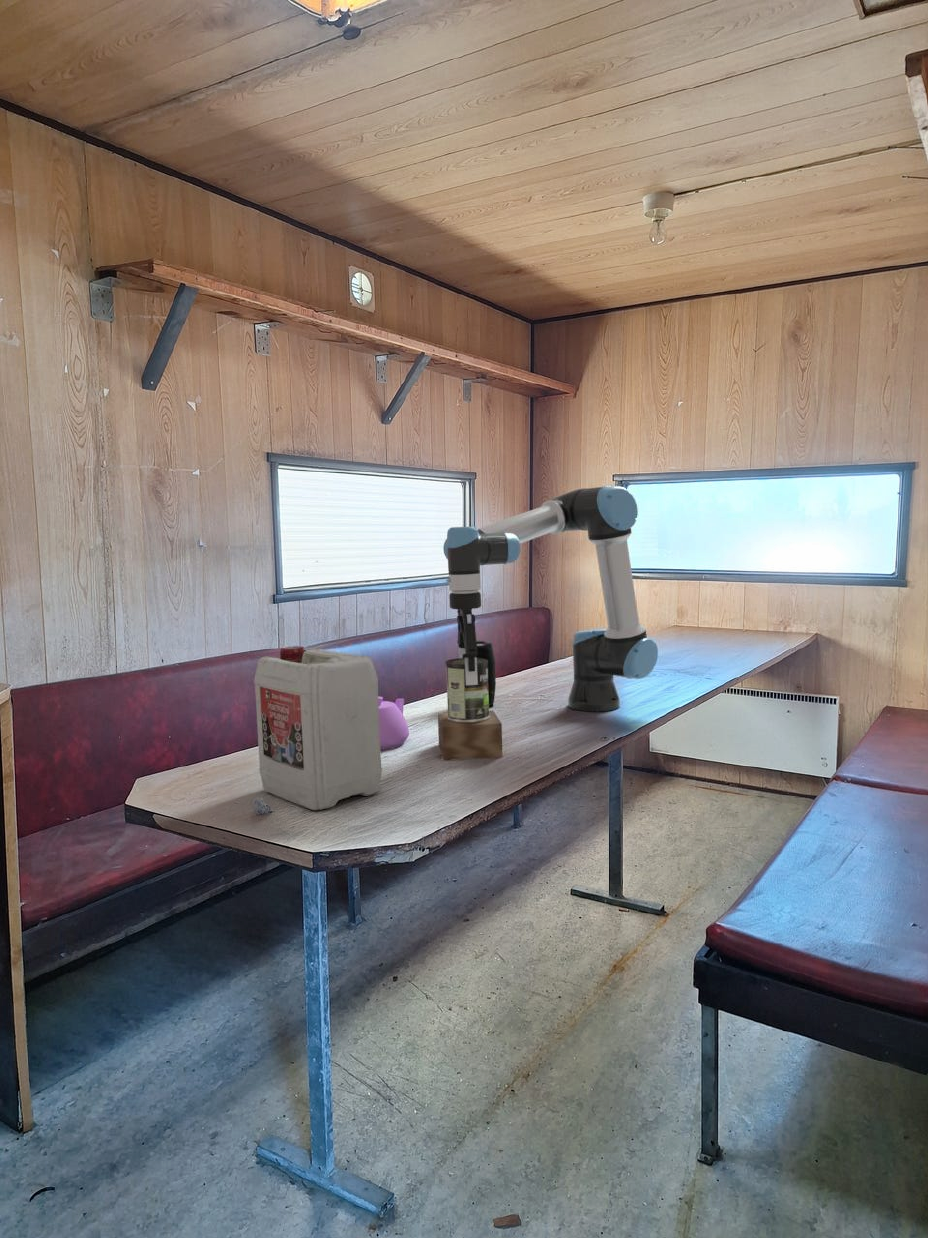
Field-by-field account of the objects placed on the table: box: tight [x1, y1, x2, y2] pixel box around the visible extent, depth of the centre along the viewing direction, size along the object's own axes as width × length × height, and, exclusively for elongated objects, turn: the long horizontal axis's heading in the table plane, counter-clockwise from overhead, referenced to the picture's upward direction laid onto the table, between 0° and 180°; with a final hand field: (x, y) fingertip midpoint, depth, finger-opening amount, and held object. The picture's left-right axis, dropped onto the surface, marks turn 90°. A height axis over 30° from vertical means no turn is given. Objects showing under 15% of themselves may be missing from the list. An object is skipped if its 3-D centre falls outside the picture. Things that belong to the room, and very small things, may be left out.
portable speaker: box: [476, 640, 497, 707], centre depth 243 cm, size 9×9×20 cm
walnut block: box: [437, 710, 504, 761], centre depth 195 cm, size 14×14×8 cm
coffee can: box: [445, 657, 490, 723], centre depth 194 cm, size 10×10×14 cm
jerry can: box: [253, 645, 383, 811], centre depth 166 cm, size 24×19×30 cm
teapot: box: [378, 695, 410, 751], centre depth 205 cm, size 22×16×12 cm
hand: (468, 679), depth 194 cm, fingers open, 13 cm apart
